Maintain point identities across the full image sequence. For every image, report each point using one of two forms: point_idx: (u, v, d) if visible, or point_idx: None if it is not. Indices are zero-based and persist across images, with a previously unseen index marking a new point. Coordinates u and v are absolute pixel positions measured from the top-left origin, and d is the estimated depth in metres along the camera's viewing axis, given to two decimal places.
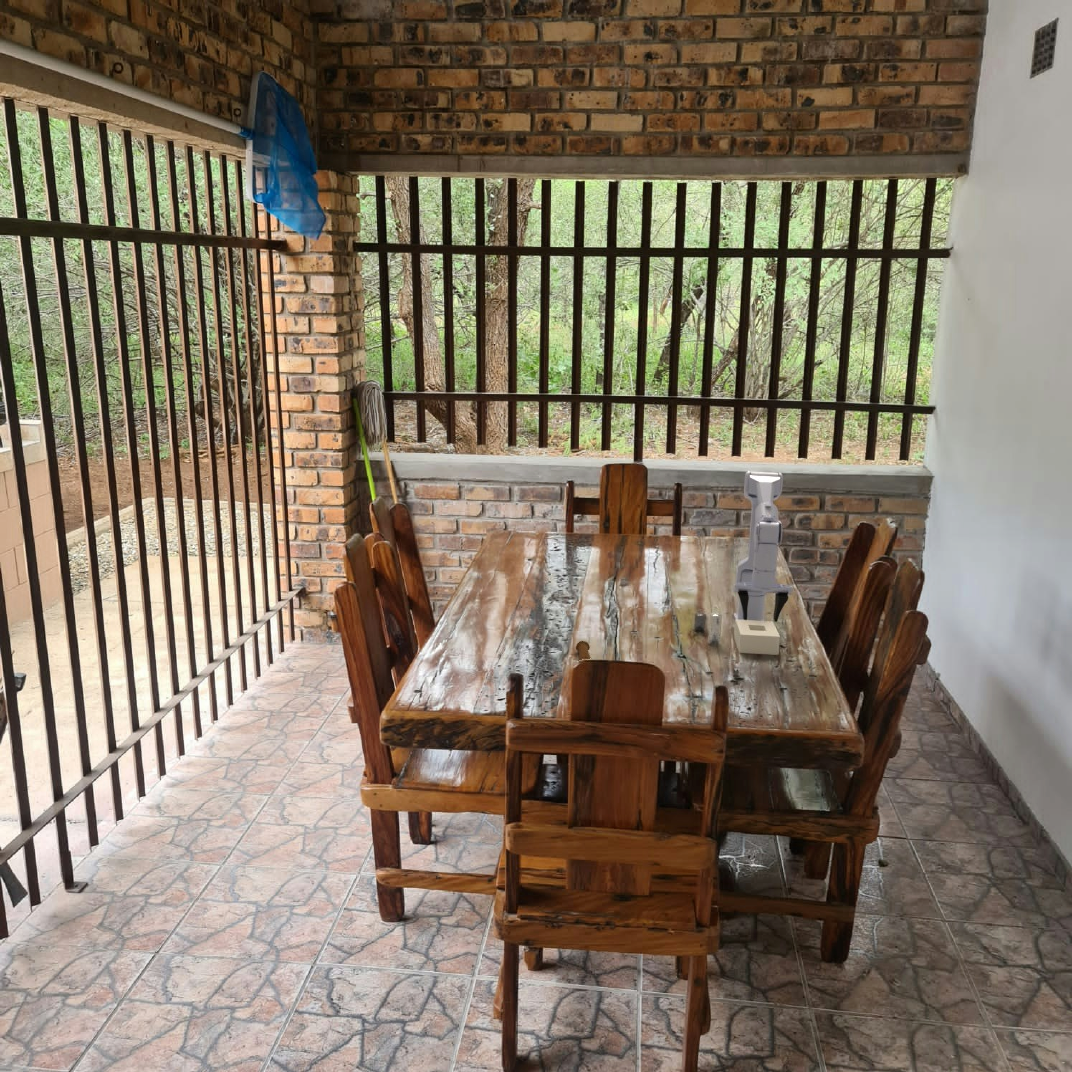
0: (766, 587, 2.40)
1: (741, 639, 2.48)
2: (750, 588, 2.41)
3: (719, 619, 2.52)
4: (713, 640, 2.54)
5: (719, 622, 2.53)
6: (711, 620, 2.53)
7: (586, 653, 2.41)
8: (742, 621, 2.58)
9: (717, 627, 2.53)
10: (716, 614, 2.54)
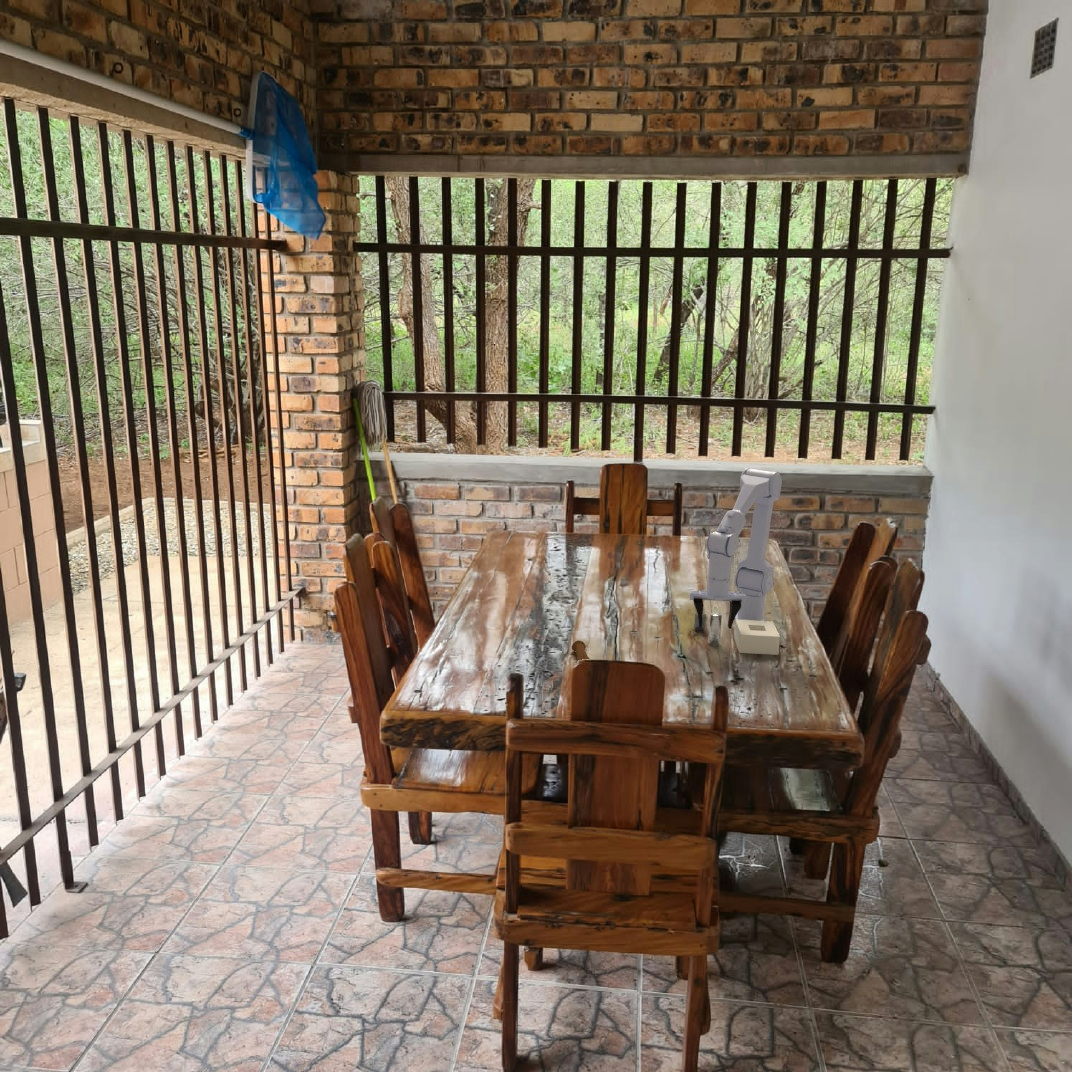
0: (720, 595, 2.49)
1: (741, 639, 2.48)
2: (704, 596, 2.50)
3: (719, 619, 2.52)
4: (713, 640, 2.54)
5: (719, 622, 2.53)
6: (711, 620, 2.53)
7: (584, 653, 2.41)
8: (742, 621, 2.58)
9: (717, 627, 2.53)
10: (716, 614, 2.54)
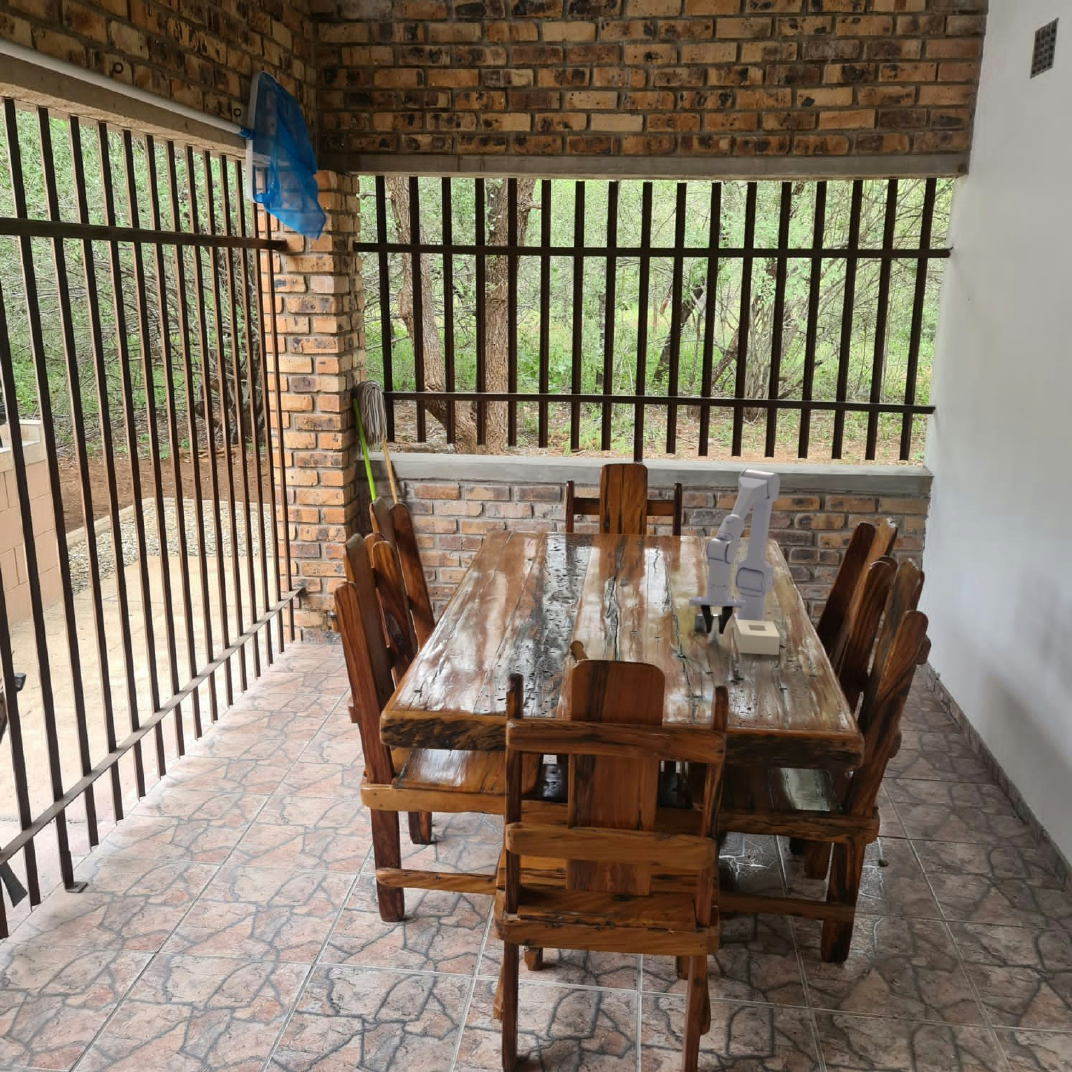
0: (719, 602, 2.50)
1: (741, 639, 2.48)
2: (704, 602, 2.51)
3: (719, 619, 2.52)
4: (713, 640, 2.54)
5: (719, 622, 2.53)
6: (711, 620, 2.53)
7: (582, 652, 2.41)
8: (742, 621, 2.58)
9: (717, 627, 2.53)
10: (716, 614, 2.54)
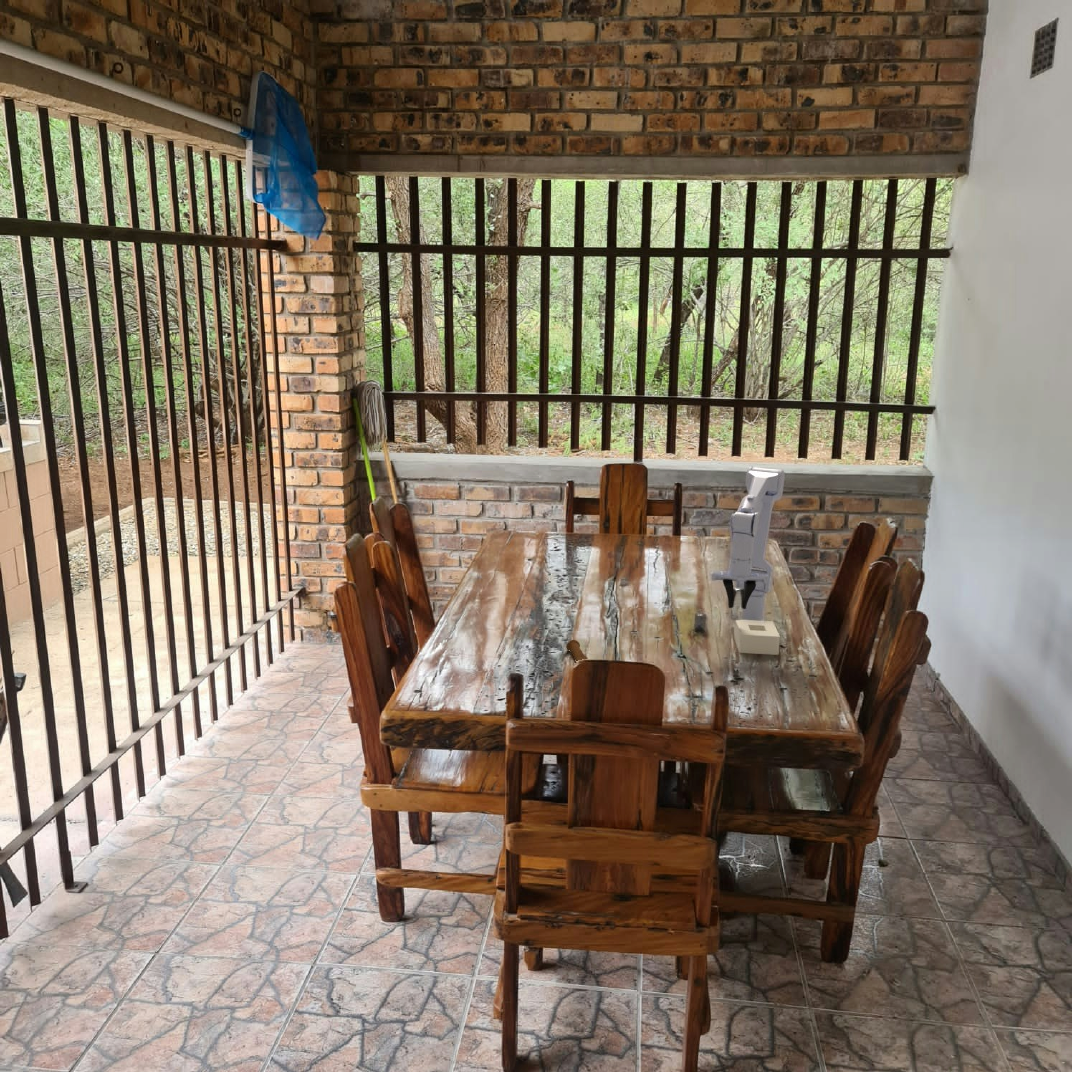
0: (742, 576, 2.47)
1: (741, 639, 2.48)
2: (727, 576, 2.49)
3: (741, 593, 2.50)
4: (736, 615, 2.52)
5: (741, 597, 2.51)
6: (733, 595, 2.51)
7: (580, 652, 2.41)
8: (742, 621, 2.58)
9: (739, 601, 2.51)
10: (738, 589, 2.52)
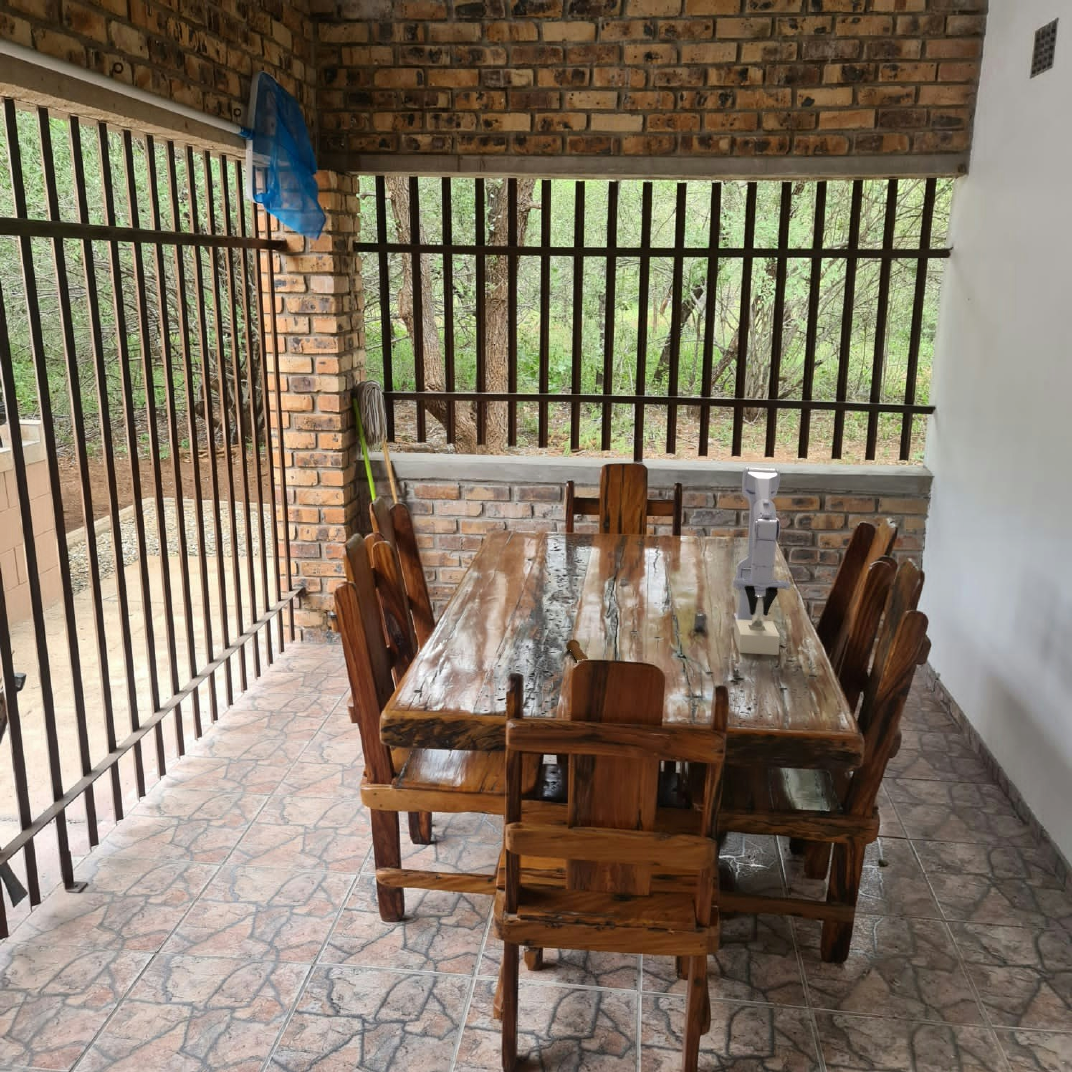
0: (764, 582, 2.47)
1: (741, 639, 2.48)
2: (749, 583, 2.49)
3: (763, 600, 2.50)
4: (758, 621, 2.51)
5: (763, 603, 2.50)
6: (755, 601, 2.51)
7: (580, 651, 2.42)
8: (742, 621, 2.58)
9: (761, 608, 2.50)
10: (760, 595, 2.51)
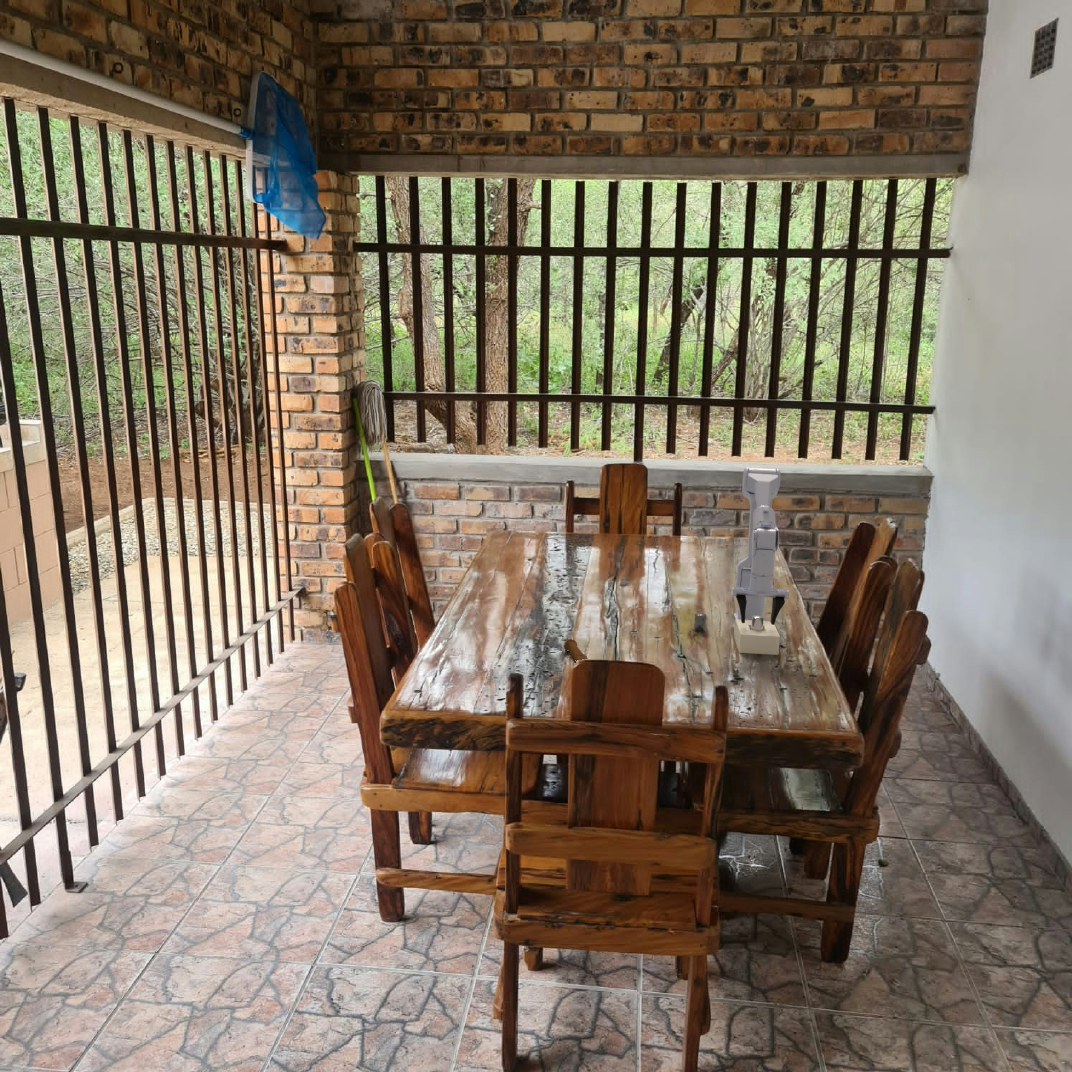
0: (763, 591, 2.48)
1: (741, 639, 2.48)
2: (748, 592, 2.49)
3: (761, 621, 2.52)
4: None
5: (761, 624, 2.52)
6: (753, 622, 2.52)
7: (579, 651, 2.42)
8: None
9: (759, 629, 2.52)
10: (758, 616, 2.53)
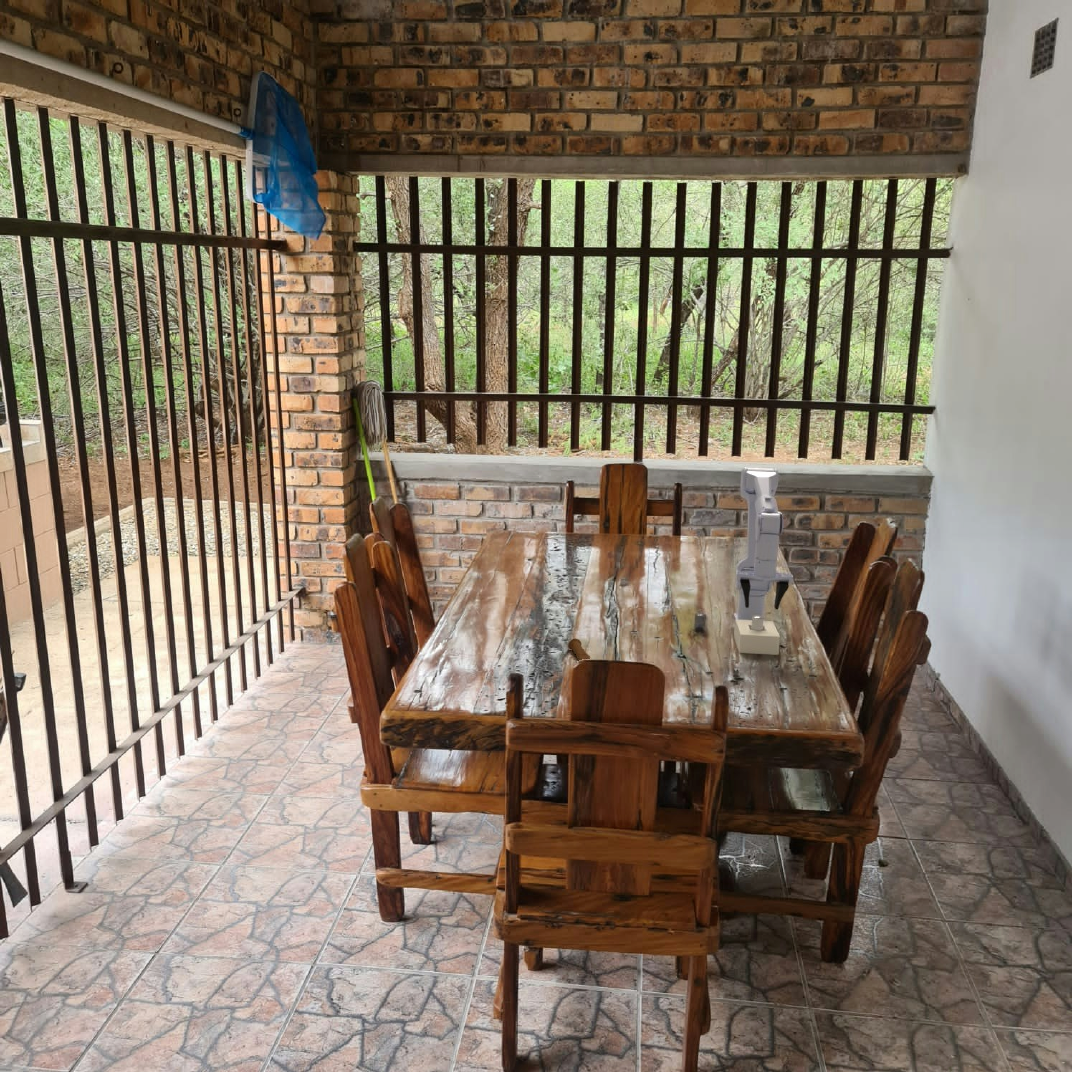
0: (767, 576, 2.48)
1: (741, 639, 2.48)
2: (752, 577, 2.49)
3: (761, 621, 2.52)
4: None
5: (761, 624, 2.52)
6: (753, 622, 2.52)
7: (582, 650, 2.42)
8: (742, 621, 2.58)
9: (759, 629, 2.52)
10: (758, 616, 2.53)
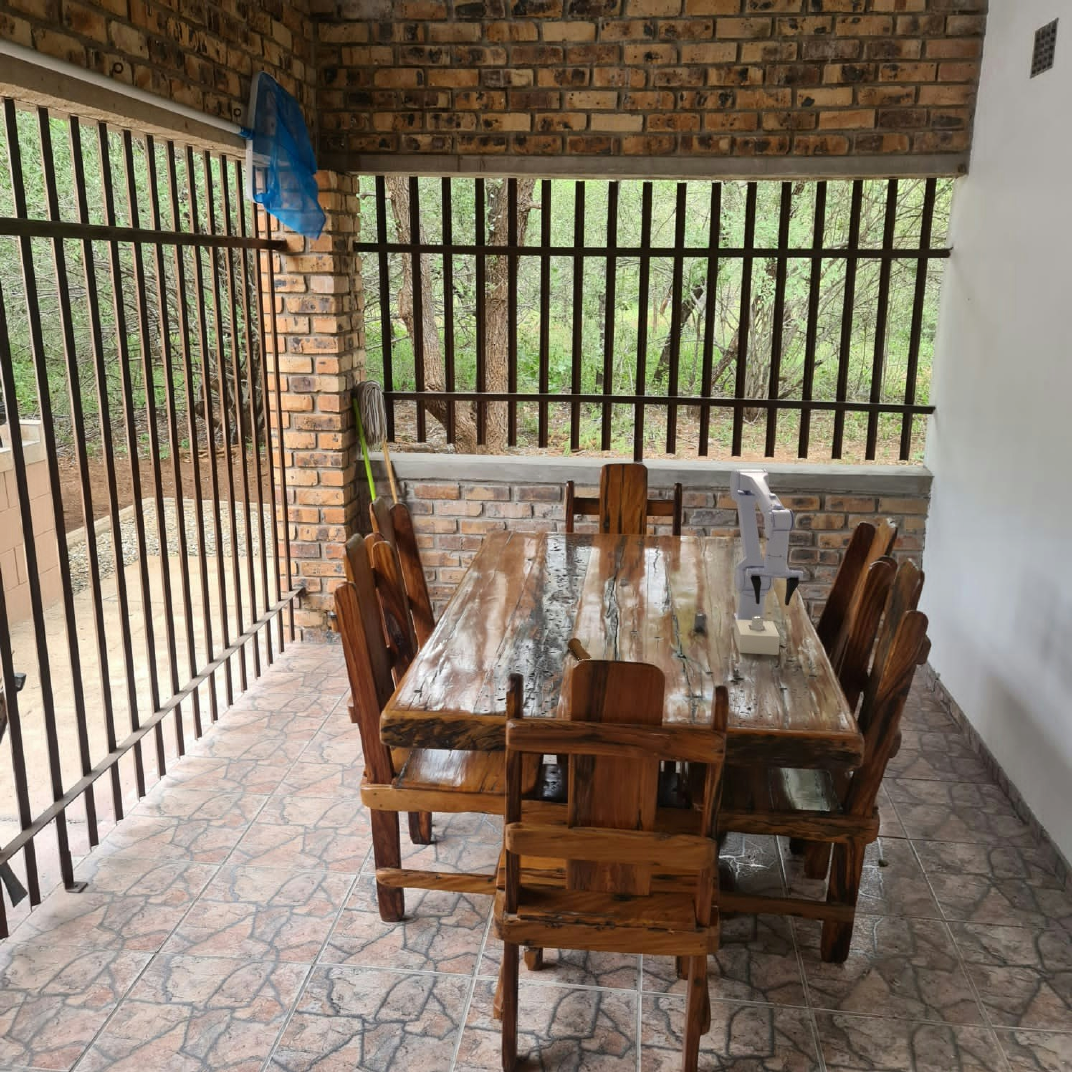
0: (778, 572, 2.51)
1: (741, 639, 2.48)
2: (762, 573, 2.52)
3: (761, 621, 2.52)
4: None
5: (761, 624, 2.52)
6: (753, 622, 2.52)
7: (583, 650, 2.43)
8: (742, 621, 2.58)
9: (759, 629, 2.52)
10: (758, 616, 2.53)
